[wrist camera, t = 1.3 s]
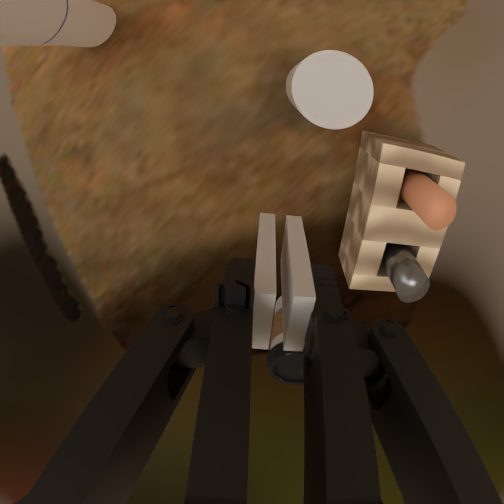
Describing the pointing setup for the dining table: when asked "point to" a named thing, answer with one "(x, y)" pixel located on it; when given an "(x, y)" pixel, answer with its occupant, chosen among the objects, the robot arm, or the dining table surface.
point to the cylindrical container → (55, 22)
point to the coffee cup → (283, 354)
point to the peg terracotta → (428, 199)
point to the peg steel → (404, 272)
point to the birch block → (391, 207)
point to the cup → (330, 89)
